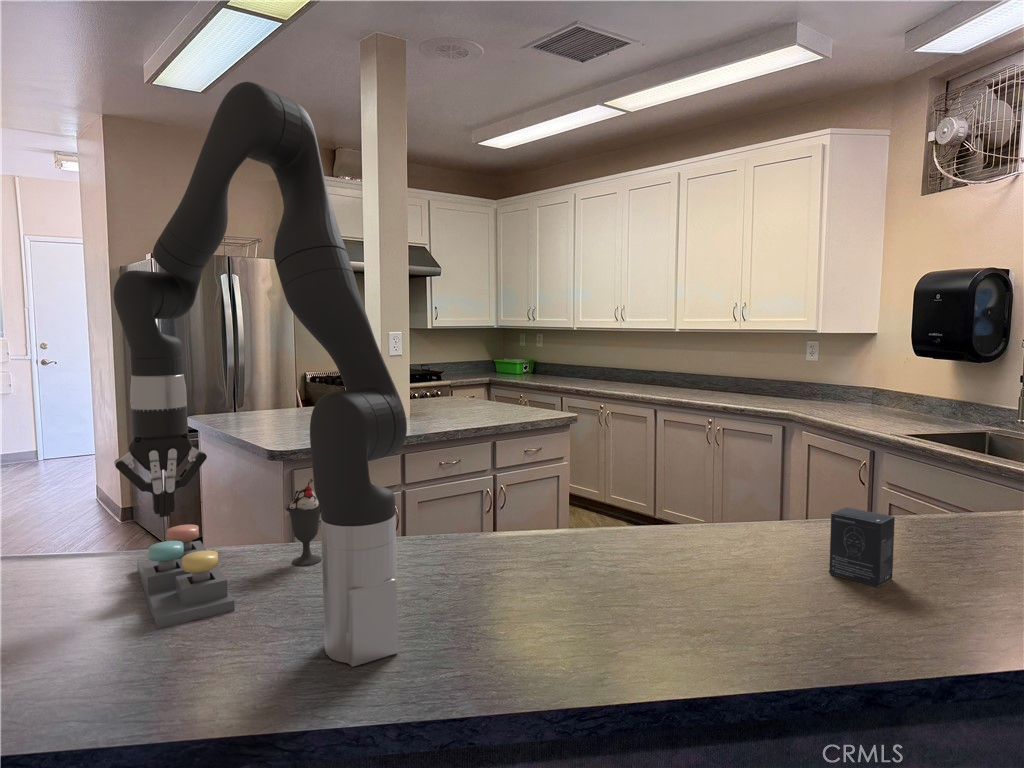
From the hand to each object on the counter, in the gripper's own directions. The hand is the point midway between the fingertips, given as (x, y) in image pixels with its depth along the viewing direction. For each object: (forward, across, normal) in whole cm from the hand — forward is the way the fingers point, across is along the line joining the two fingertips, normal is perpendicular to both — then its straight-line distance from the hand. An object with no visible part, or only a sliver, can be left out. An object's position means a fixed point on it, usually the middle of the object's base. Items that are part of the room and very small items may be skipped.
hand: (164, 515), depth 101 cm
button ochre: (+9, +3, -8) cm, 13 cm away
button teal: (+9, 0, 0) cm, 9 cm away
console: (+12, +2, 0) cm, 12 cm away
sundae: (+12, +22, +1) cm, 25 cm away
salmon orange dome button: (+9, +3, +8) cm, 12 cm away
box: (+12, +94, -59) cm, 112 cm away
